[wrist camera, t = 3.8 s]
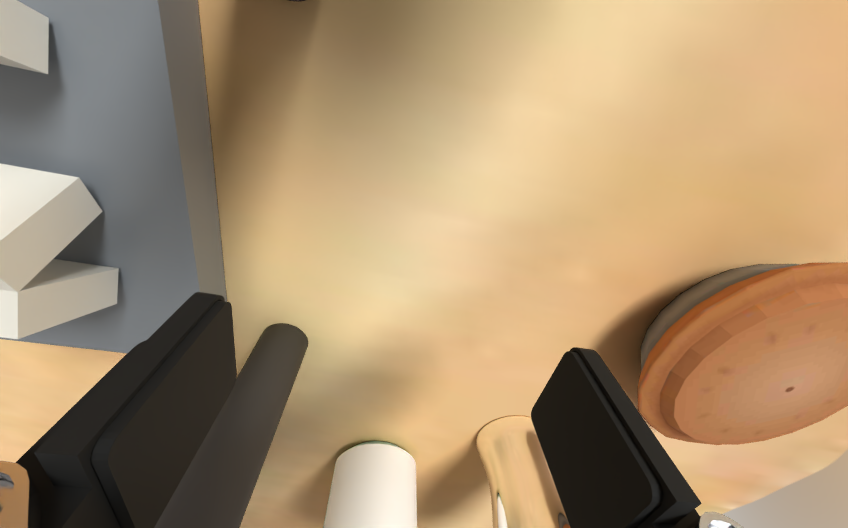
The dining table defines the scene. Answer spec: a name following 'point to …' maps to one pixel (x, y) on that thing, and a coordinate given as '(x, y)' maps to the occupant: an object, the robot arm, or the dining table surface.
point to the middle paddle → (38, 220)
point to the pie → (748, 354)
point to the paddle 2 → (57, 297)
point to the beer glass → (519, 476)
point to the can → (373, 488)
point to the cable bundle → (239, 436)
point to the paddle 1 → (23, 37)
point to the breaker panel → (124, 155)
